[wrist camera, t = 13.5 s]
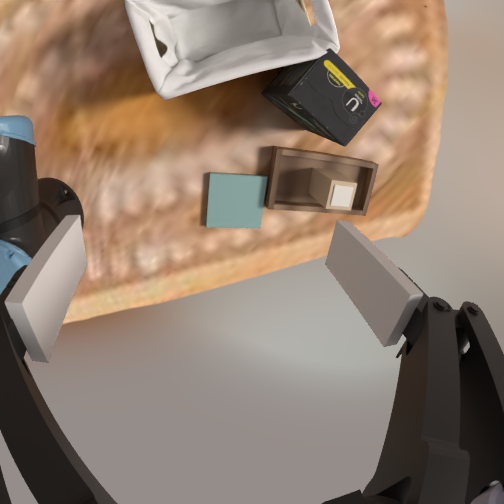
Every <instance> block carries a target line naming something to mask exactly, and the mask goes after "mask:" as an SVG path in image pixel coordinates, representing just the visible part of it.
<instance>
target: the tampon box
mask: <svg viewBox="0 0 504 504" xmlns="http://www.w3.org/2000/svg"><path fill="white" fill-rule="evenodd" d="M326 51H327V53H326V54H324V55H322V56H321V57H320V58H317V59H314V60H309V61H305V62H300V63H296V64H292V65H287V66H286V67H285V68H284V69H283V70H282V71H281V72H280V74H279V75H278V76H277V77H276V78H275V79H274V80H273V81H272V83H271V84H270V85H269V86H268V87H267V88H266V89H265V91H264V92H263V93H262V94H261V95H263V96H264V97H265V98H266V99H268V100H269V101H270V102H272V103H273V104H274V105H275V106H277V107H278V108H279V109H281V110H282V111H283V112H284V113H286V114H287V115H288V116H289V117H291V118H292V119H293V120H294V121H296V122H297V123H298V124H299V125H301V126H302V127H303V128H304V129H305V130H307V131H310V132H312V133H315V134H317V135H320V136H322V137H324V138H327V139H329V140H331V141H333V142H336V143H338V144H340V145H342V146H346V145H347V144H348V143H349V142H350V141H351V140H352V138H353V137H354V136H355V135H356V134H357V133H358V131H359V130H360V129H361V128H362V127H363V125H364V124H365V123H366V122H367V121H368V120H369V118H370V117H371V116H372V115H373V113H374V112H375V111H376V110H377V109H378V107H379V106H380V105H381V104H382V103H381V101H380V100H379V99H378V98H377V97H376V96H375V95H374V93H373V92H372V91H371V90H370V89H369V88H368V87H367V85H366V84H365V83H364V82H363V81H362V80H361V79H360V78H359V77H358V76H357V74H356V73H355V72H354V71H353V70H352V69H351V68H350V67H349V66H348V65H347V64H346V63H345V62H344V61H343V60H342V59H341V58H340V57H339V56H338V55H337V54H336V53H335V52H334V51H333V50H332V49H331V48H329V49H327V50H326Z"/></svg>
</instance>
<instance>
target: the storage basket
mask: <svg viewBox="0 0 504 504" xmlns="http://www.w3.org/2000/svg"><path fill="white" fill-rule="evenodd" d="M310 1H311V3H312V6H313V11H314V15H315V21H316V24H315V25H314V26H311V23H310V20H309V17H308V14H307V10H306V7H305V4H304V2H303V0H124V2H125V7H126V11H127V15H128V18H129V21H130V24H131V27H132V30H133V33H134V36H135V39H136V42H137V45H138V47H139V50H140V53H141V56H142V59H143V61H144V64H145V67H146V70H147V73H148V75H149V77H150V80H151V82H152V84H153V86H154V88H155V90H156V92H157V94H159V95H160V96H161V98H162V99H165V100H168V99H171V98H174V97H177V96H180V95H183V94H186V93H189V92H192V91H195V90H199V89H202V88H205V87H208V86H212V85H215V84H218V83H222V82H225V81H228V80H232V79H235V78H239V77H242V76H246V75H250V74H254V73H258V72H262V71H266V70H270V69H274V68H278V67H283V66H287V65H292V64H296V63H300V62H305V61H309V60H314V59H317V58H320V57H321V56H322V55H324V54H326V53H327V51H326V50H327V49H329V48H331V49H332V50H333V51H334V52H335V53H336V54H337V53H338V51H339V49H340V45H339V40H338V35H337V30H336V26H335V22H334V18H333V15H332V11H331V8H330V5H329V2H328V0H310Z"/></svg>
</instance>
